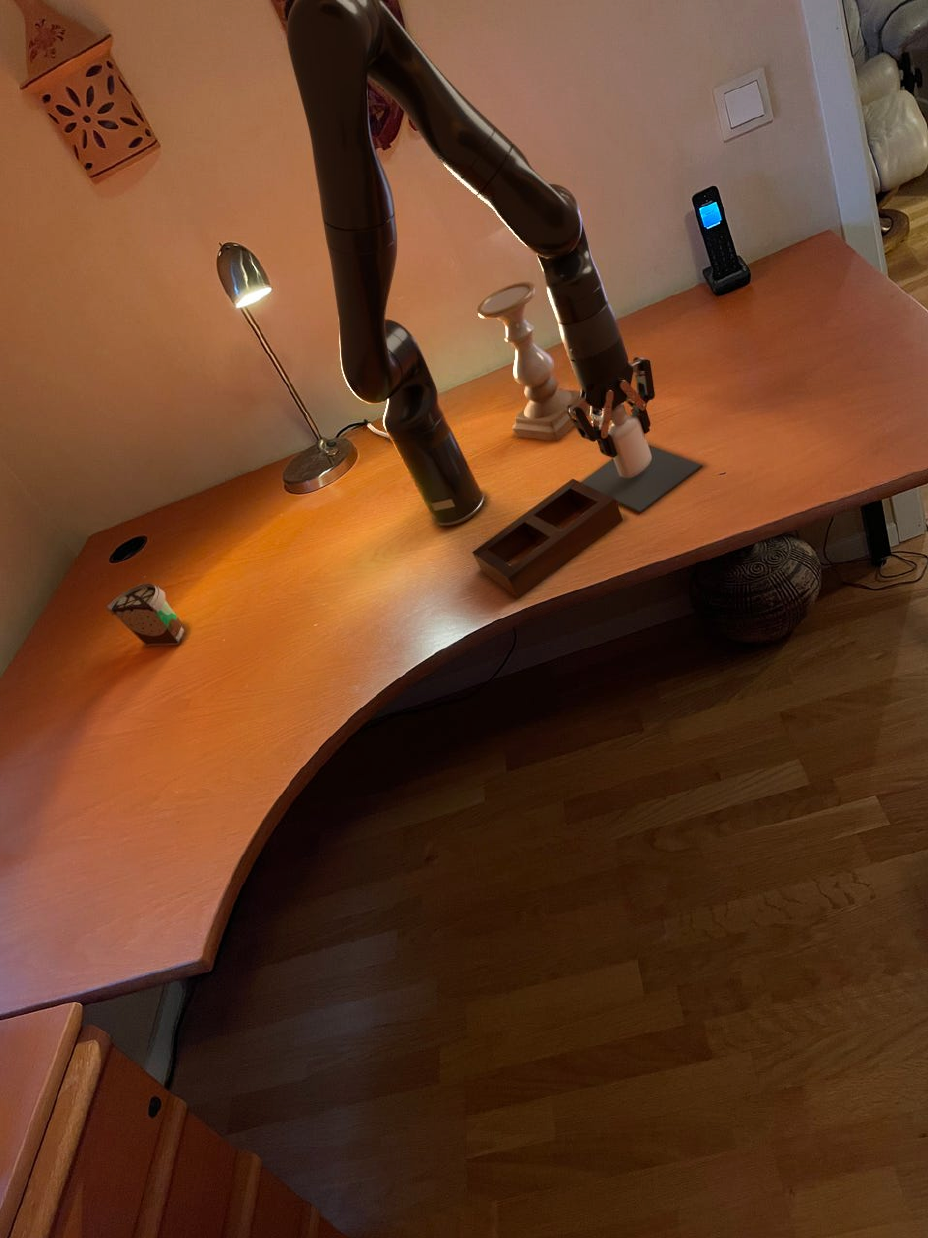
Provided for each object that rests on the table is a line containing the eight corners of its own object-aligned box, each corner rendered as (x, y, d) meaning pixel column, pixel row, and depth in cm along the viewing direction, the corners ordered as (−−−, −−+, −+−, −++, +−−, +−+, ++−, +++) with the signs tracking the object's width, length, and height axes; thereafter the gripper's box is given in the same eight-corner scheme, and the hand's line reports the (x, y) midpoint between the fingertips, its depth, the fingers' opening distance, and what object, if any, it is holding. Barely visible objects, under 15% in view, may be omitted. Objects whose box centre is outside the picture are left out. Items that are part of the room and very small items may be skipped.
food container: (204, 619, 150) (171, 578, 144) (186, 644, 146) (150, 603, 140) (160, 621, 156) (126, 583, 150) (140, 645, 152) (105, 607, 146)
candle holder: (550, 401, 156) (503, 281, 141) (595, 404, 148) (549, 277, 134) (514, 436, 152) (461, 316, 137) (558, 441, 144) (507, 314, 130)
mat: (580, 484, 131) (579, 482, 131) (637, 442, 133) (637, 440, 133) (640, 513, 119) (639, 511, 119) (702, 466, 121) (702, 464, 121)
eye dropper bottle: (658, 466, 123) (636, 396, 116) (623, 482, 124) (599, 414, 117) (648, 453, 126) (626, 385, 119) (614, 470, 127) (590, 403, 120)
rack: (482, 572, 125) (471, 552, 122) (580, 498, 128) (572, 478, 126) (518, 599, 117) (508, 578, 114) (623, 520, 120) (615, 498, 117)
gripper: (616, 309, 117) (648, 411, 127) (536, 364, 114) (575, 464, 124) (650, 315, 111) (681, 422, 121) (567, 374, 108) (605, 477, 118)
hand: (627, 443), depth 122 cm, fingers closed on eye dropper bottle, 5 cm apart
